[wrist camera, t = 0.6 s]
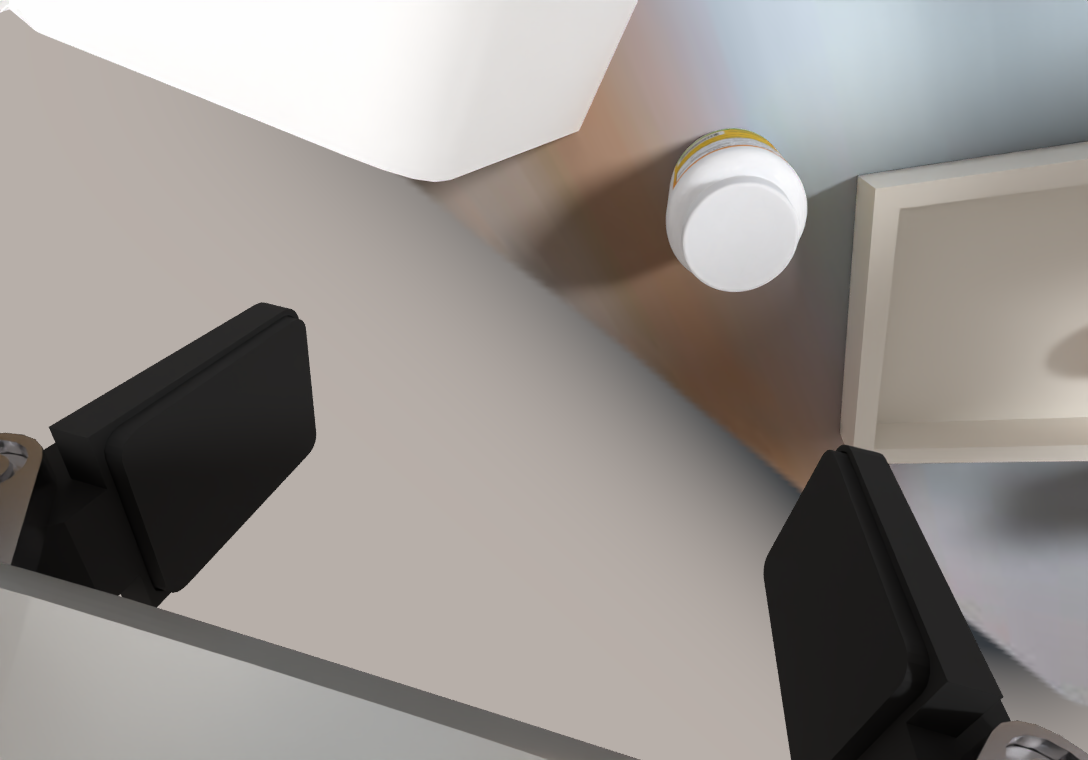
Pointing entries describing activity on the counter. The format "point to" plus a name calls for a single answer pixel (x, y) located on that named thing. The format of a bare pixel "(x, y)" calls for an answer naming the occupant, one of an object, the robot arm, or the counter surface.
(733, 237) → the supplement bottle
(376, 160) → the milk
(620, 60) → the counter surface
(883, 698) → the robot arm
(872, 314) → the tray
